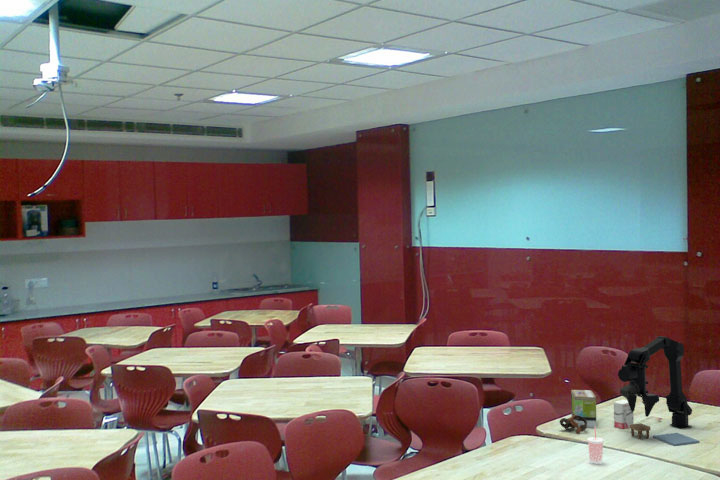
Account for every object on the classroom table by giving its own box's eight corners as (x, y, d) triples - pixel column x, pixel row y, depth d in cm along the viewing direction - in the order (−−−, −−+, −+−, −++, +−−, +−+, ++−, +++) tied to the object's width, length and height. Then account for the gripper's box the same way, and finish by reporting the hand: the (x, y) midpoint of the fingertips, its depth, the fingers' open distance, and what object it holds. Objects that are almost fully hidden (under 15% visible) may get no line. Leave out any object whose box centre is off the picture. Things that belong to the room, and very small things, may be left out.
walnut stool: (641, 434, 296) (640, 423, 296) (650, 438, 290) (650, 426, 290) (629, 435, 294) (629, 424, 294) (639, 439, 288) (638, 428, 288)
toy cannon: (579, 428, 309) (586, 415, 306) (584, 442, 301) (591, 429, 297) (555, 422, 309) (561, 409, 305) (559, 436, 300) (565, 423, 297)
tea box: (597, 428, 307) (596, 396, 307) (574, 427, 309) (574, 396, 309) (592, 419, 321) (591, 389, 321) (571, 419, 323) (570, 389, 323)
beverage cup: (591, 458, 265) (590, 423, 266) (606, 461, 262) (605, 426, 262) (585, 462, 261) (584, 427, 261) (601, 465, 257) (600, 429, 257)
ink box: (622, 429, 304) (622, 403, 304) (613, 427, 308) (612, 401, 308) (634, 426, 309) (633, 401, 309) (625, 423, 313) (624, 399, 313)
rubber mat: (677, 434, 294) (676, 432, 294) (699, 442, 282) (699, 440, 282) (652, 437, 291) (652, 435, 291) (674, 446, 278) (674, 444, 278)
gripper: (609, 376, 299) (610, 410, 299) (637, 384, 281) (638, 421, 281) (630, 374, 302) (631, 408, 302) (659, 382, 284) (660, 418, 284)
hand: (639, 413), depth 292 cm, fingers open, 9 cm apart
